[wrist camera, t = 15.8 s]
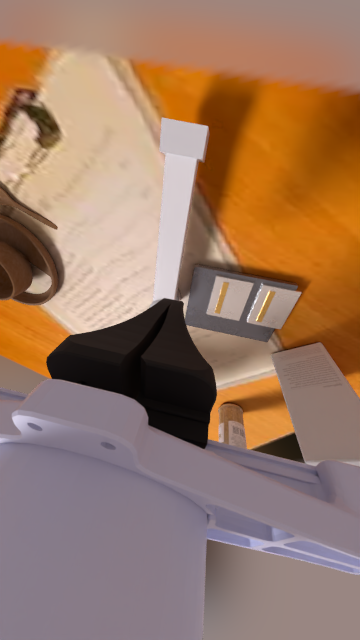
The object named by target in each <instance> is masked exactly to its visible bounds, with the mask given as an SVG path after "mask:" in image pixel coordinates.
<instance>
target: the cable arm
mask: <svg viewBox="0 0 360 640" xmlns="http://www.w3.org/2000/svg"><path fill="white" fill-rule="evenodd" d="M209 134H210V133H209V127H208V126H205V125H199V124H194V123H188V122H183V121H177V120H172V119H166V118H162V122H161V137H160V152H161V153H163V154H165V155H166V157H165V168H164V180H163V192H162V203H161V215H160V226H159V238H158V250H157V261H156V273H155V284H154V296H153V302H152V304H151V305H150V307H152V306H153V305H155V304H156V303H158V302H159V301H160V300H162V299H163V298H168V299H172V300H176V294H177V288H178V282H179V276H180V270H181V264H182V258H183V252H184V247H185V241H186V235H187V229H188V223H189V217H190V211H191V205H192V199H193V193H194V187H195V181H196V175H197V169H198V163H199V162H203V163H204V161H205V156H206V150H207V145H208V139H209Z"/></svg>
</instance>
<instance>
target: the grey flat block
mask: <svg viewBox="0 0 360 640" xmlns="http://www.w3.org/2000/svg"><path fill="white" fill-rule="evenodd" d="M297 288H298V285H297V284H296V283H293V282H288V281H283V280H277V279H272V278H267V277H261V276H256V275H251V274H246V273H240V272H235V271H230V270H225V269H219V268H214V267H209V266H203V265H198V264H195V268H194V273H193V279H192V284H191V290H190V295H189V301H188V306H187V312H186V317H185V323H186V325H189V326H193V327H198V328H203V329H207V330H212V331H217V332H222V333H226V334H231V335H236V336H240V337H245V338H250V339H255V340H259V341H264V342H268V340H269V338H270V336H271V335H272V333H273V331H274V329H275V328H276V329H281V328H282V326H283V324H284V323H285V321H286V319H287V317H288V316H289V314H290V312H291V310H292V309H293V307H294V305H295V303H296V302H297V300H298V298H299V297H300V295H301V293H302V292H301V291H297V290H296V289H297ZM180 298H181V294H180V291H179V290H178V289H177V294H176V300H177V301H180Z"/></svg>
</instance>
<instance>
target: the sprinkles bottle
mask: <svg viewBox="0 0 360 640" xmlns="http://www.w3.org/2000/svg"><path fill="white" fill-rule="evenodd" d="M218 412H219V442H220V443H224V444H228V445H232V446H236V447H240V448H244V449H247V446H246V437H245V429H244V424H243V410H242V408H241V407H239V406H238V405H235V404H230V403H229V404H223V405H221V406H220V407H219V410H218Z"/></svg>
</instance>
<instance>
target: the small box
mask: <svg viewBox="0 0 360 640" xmlns="http://www.w3.org/2000/svg"><path fill="white" fill-rule="evenodd" d="M271 358H272V361H273V364H274V367H275V370H276V373H277V376H278V379H279V382H280V386H281V389H282V392H283V396H284V399H285V402H286V405H287V408H288V411H289V414H290V417H291V420H292V423H293V427H294V430H295V433H296V436H297V439H298V442H299V445H300V448H301V452H302V455H303V458H304V461H305V463H306V464H308V465H312V466H317V465H318V464H319V463H320V462H321V461H324V460H335V461H339V462H343V463H347V464H351V465H355V466H359V467H360V399H359V397H358V396H357V394H356V393H355V391H354V390H353V388H352V387H351V385H350V384H349V382H348V381H347V380H346V378H345V377H344V375H343V374H342V372H341V371H340V369H339V368H338V366H337V365H336V363H335V362H334V360H333V359H332V357H331V356H330V354H329V353H328V351H327V350H326V348H325V347H324V346H323V344H322V343H320V342H318V343H315V344H311V345H306V346H302V347H298V348H294V349H290V350H286V351H282V352H278V353H274V354H271Z"/></svg>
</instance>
